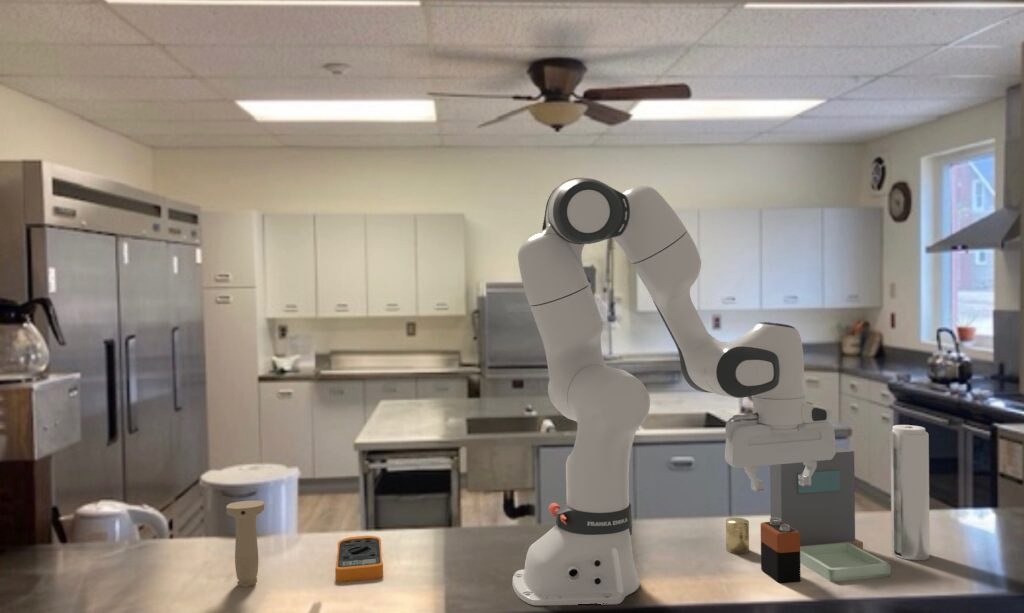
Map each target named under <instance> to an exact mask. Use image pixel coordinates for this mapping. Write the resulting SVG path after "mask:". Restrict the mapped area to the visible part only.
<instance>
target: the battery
mask: <svg viewBox="0 0 1024 613" xmlns="http://www.w3.org/2000/svg"><path fill="white" fill-rule="evenodd" d="M760 569H761V571H762V572H763V573H764V574H765V575H767V576H768V577H770V578H771V579H772V580H774V582H775V581H776V582H777V583H779V584H790V583H800V582H801V580H802V578H801V563H800V533H799V532H798V531H797V530H795V529H793V528H792V527H790V526H789V525H787V524H785V523H783V522H781V519H779V518H771V517H769V521H764V522H761V523H760Z"/></svg>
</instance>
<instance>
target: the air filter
mask: <svg viewBox="0 0 1024 613" xmlns="http://www.w3.org/2000/svg"><path fill="white" fill-rule="evenodd" d="M889 432H890V433H889V434H890V510H891V511H890V517H891V518H890V519H891V520H890V521H891V522H890V523H891V524H890V526H891V528H890V530H891V531H890V532H891V536H890V537H891V539H890V540H891V553H892V554H893V555H894V556H895V557H898V558H900V559H902V560H903V559H904V560H909V561H915V560H918V561H917V562H919V561H920V560H922V561H926V560H929V559H930V553H931V552H930V548H931V547H930V546H931V545H930V454H929V452H930V449H929V448H930V447H929V446H930V442H929V439H930V438H929V433H928V432H927V431H926V428H925V427H923V426H919V425H910V424H895V425H893V426H892V429H891V430H890V431H889Z"/></svg>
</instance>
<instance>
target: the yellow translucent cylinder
mask: <svg viewBox="0 0 1024 613" xmlns="http://www.w3.org/2000/svg"><path fill="white" fill-rule="evenodd" d="M725 548H726V549H725V550H726V552H728V553H730V554H734V555H735V554H736V555H746V554H749V553H750V522H749V520H748V519H746V518H742V517H728V518H726V519H725Z"/></svg>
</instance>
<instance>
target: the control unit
mask: <svg viewBox="0 0 1024 613" xmlns="http://www.w3.org/2000/svg"><path fill="white" fill-rule="evenodd" d="M805 466H806V465H804V464H803V462H801V463H789V464H778V465H769V476H770V477H769V480H770V481H769V482H770V483H769V485H770V488H769V490H770V492H769V493H770V497H769V498H770V499H769V500H770V502H769V503H770V518H779V519H781V522H783V523H785V524H787V525H789V526H790V527H792V528H793V529H795V530H797V531H798V532H799V533H800V547H801V546H812V545H823V544H834V543H845V542H849V543H851V544H852V545H854V546H856V547H858V548H860V549H862V550H864V542H863V541H861V540H859V539H857V538H856V509H855V508H856V507H855V506H856V504H855V503H856V502H855V501H856V498H855V497H856V495H855V494H856V492H855V491H856V488H855V487H856V486H855V485H856V483H855V478H856V477H855V451H854V450H851V449H848V448H846V447H840V446H839V447H838V446H837V447H836V453H835V455H834V457H833V458H832V459H831V460H823V461H817V467H816V469H815V471H814V473H813V475H812V476H811V486H801V485H799V479H798V475H802V474H803V471H804V469H805Z"/></svg>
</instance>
